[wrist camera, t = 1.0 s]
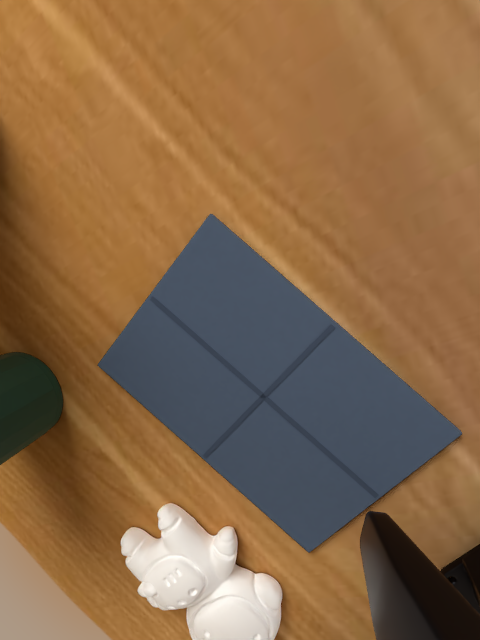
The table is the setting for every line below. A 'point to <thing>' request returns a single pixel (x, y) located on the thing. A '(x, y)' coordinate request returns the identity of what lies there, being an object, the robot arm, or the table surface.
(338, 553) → the table surface
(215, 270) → the napkin
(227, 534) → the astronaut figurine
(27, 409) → the vase
